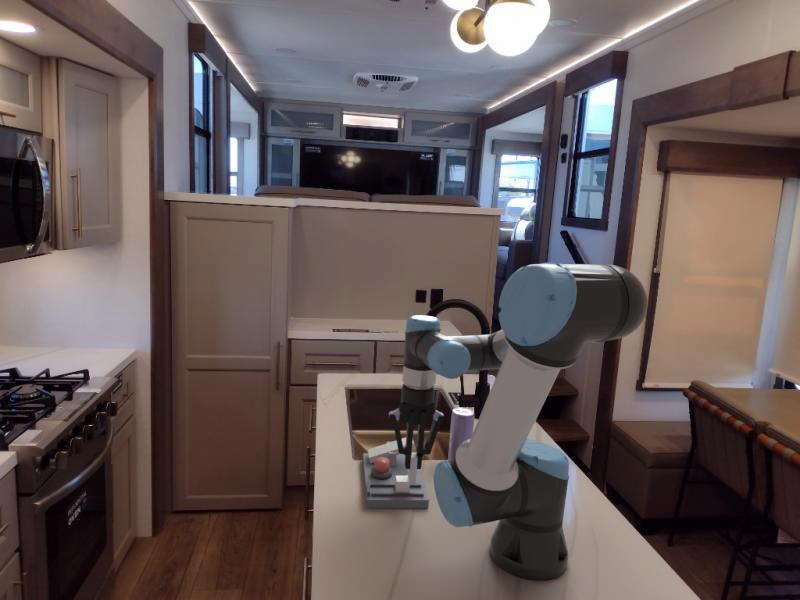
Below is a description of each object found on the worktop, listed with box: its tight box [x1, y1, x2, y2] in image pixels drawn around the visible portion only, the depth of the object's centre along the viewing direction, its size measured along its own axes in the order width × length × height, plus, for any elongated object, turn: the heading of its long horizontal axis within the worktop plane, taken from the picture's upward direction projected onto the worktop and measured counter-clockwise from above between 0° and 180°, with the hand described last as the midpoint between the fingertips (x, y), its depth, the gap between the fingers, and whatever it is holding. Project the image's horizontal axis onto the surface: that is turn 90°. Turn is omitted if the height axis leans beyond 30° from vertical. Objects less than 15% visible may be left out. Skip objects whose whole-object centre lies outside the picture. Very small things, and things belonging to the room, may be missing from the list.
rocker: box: [367, 436, 417, 463], centre depth 149 cm, size 5×12×2 cm, turn 96°
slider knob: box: [395, 476, 410, 493], centre depth 134 cm, size 3×3×3 cm
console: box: [362, 441, 430, 509], centre depth 142 cm, size 24×14×6 cm, turn 6°
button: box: [374, 457, 390, 473], centre depth 141 cm, size 4×4×2 cm
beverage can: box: [447, 407, 475, 461], centre depth 153 cm, size 6×6×15 cm
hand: (411, 481), depth 135 cm, fingers closed
